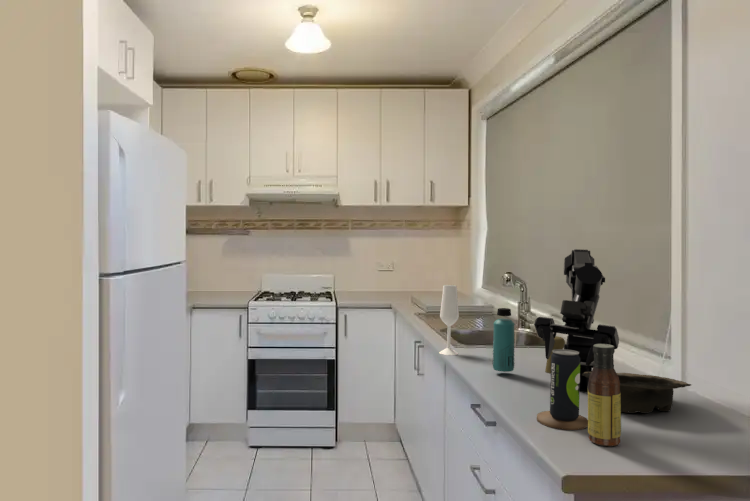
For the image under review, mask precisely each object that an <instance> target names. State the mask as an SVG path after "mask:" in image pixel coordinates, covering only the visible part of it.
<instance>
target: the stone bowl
mask: <svg viewBox="0 0 750 501" xmlns="http://www.w3.org/2000/svg"><path fill="white" fill-rule="evenodd" d="M591 372H592V371H590V372H584V373H583V374H582V376H585V377H588V378H589V376H590V374H591ZM616 373H617V375H618V377H619V381H620V393H621V413H623V414H634V413H637V412H639V413H642V414H649V413H652V412H653V411H654V409H656V410H658V411H660V412H670V411H671V409H672V406H673V398H674V389H680V388H685V387H691V386H692V384H691V383H687V382H686V381H685V382H684V381H682V380H678V379H675V378H671V377H670V378H669V377H666V376H665V377H663V376H658V375H652V374H651V375H650V374H649V375H647V374H641V373H640V374H639V373H630V372H616Z"/></svg>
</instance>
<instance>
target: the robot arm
mask: <svg viewBox="0 0 750 501" xmlns="http://www.w3.org/2000/svg"><path fill="white" fill-rule="evenodd" d="M563 276H565V282H566V284H567V285H568V287H569V288H570V289H571V300H566V299H563V300H562V301H561V307H560V313H559V314H561V316H562V319H561V320H562V322H563V323H564V324H559V323H556V322H555V320H554V317H553V318H552V317H546V316H545V317H544V316H538V317H536V319H535V320H534V323H533V325H534V328H535V330H536V334H537V336H538V337H539V338H541V339H542V341H543V342H544V348H545V349H544V351H545V358H546V360H547V359H549V357H550V355H551V352H552V349H553V346H554V343H555V340H554V338H555V337H556V336H557V334H562V335H567V336H566V342H565V344H564V347H563V349H566V350H574V351H577V352H579V357H580V391H582V392H583V391H584V392H588V382H589V378H588V377H585V376H582V374H583V373H584V372H590V371H592V370H593V367H594V352H593V345H595V344H609V345H613V346H614V349H615V350H617V349H618V348H619V344H620V337H619V332H618V330H617V327H616V326H615V325H607V324H600V323H599V324H598V325H597V328H596V329H592V324H594V322H595V319H594V318H595V314H596V310H597V306H598V303H599V300H600V292H601V286H603V285H604V284H603V283H606V277H605V276H604V275H603V273H602V271H601V270H600V268H599V267H598V266H597V265H595V258H594V257H593V256H592V255H591V250H588V249H577V248H575V249H572V250H571V253H570V254H568V255H567V256H566V257H564V261H563Z"/></svg>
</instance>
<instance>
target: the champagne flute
mask: <svg viewBox="0 0 750 501" xmlns="http://www.w3.org/2000/svg"><path fill="white" fill-rule="evenodd" d="M441 294H442V296H441V305H440V309H439V310H440V312H439V318H440V320H441V322H442V323H444V324H445V325H446V326H447V332H446V334H447V335H446V336H447V338H446V348H443V349H442V350H441V351H439V352H438V353H439V354H440V355H445V356H456V355H458V354H459V353H458V351H456V350H454V349H453V348H451V340H452V338H451V337H452V336H451V335H452V333H451V332H452V331H451V330H452V329H451V328H452V326H454V324H456V323H457V321H458V320H459V319H460V314H459V300H458V299H459V297H458V286H457V285H454V284H453V285H452V284H451V285H450V284H444V285H443V286H442V293H441Z"/></svg>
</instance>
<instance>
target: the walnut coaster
mask: <svg viewBox="0 0 750 501" xmlns="http://www.w3.org/2000/svg"><path fill="white" fill-rule="evenodd" d="M536 421H537V422H538V423H539V424H541V425H542V426H546V427H548V428H551V429H557V430H564V431H565V430H566V431H578V430H583V429H586V428H588V418H587V417H585V416H583V415H581V414H579V417H578V418H577V419H576V420H575V421H561V420H557V419H554V418H553V417H552V415H551V414H550V410H544V411H541V412H538V413H537V414H536Z"/></svg>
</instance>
